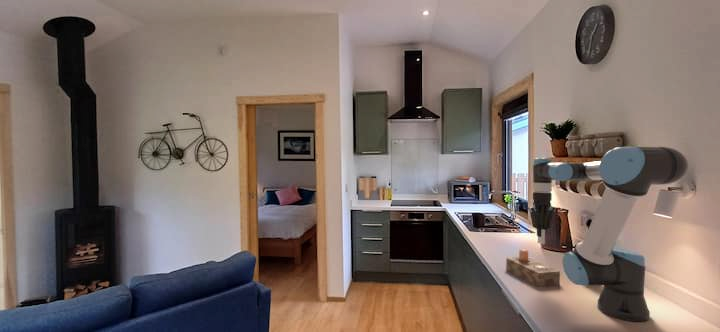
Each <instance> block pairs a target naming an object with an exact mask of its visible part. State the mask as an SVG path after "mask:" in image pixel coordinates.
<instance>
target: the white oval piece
mask: <svg viewBox="0 0 720 332" xmlns="http://www.w3.org/2000/svg"><path fill="white" fill-rule="evenodd" d="M535 268H536V269H538V270H545V267H543V266H535Z"/></svg>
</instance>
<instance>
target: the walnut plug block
mask: <svg viewBox="0 0 720 332" xmlns="http://www.w3.org/2000/svg"><path fill="white" fill-rule="evenodd" d="M505 264H506V266H505V269H506V271H508V272H510V273H511V274H514V275H516V276H518V277H519V278H521V279H523V280H525V281H527V282H529V283H531V284H532V285H535V286H536V287H549V286H559V285H560V282H561V279H560V278H561V274H560V273H561V271H560V270H558V269H555V268H553V267H551V266H549V265H546V264H544V263H541V262H540V261H536V260H534V259H532V258H530V257H528V262H521V261H519V256H517V257H515V256H513V257H506V261H505ZM535 266H543V267H545V270H538V269H536V268H535Z"/></svg>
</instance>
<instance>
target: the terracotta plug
mask: <svg viewBox="0 0 720 332" xmlns="http://www.w3.org/2000/svg"><path fill="white" fill-rule="evenodd" d="M518 252H519V253H518V257H519V261H521V262H528V258H529V250H528V249H522V248H521V249H519V250H518Z"/></svg>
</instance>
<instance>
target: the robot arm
mask: <svg viewBox="0 0 720 332" xmlns="http://www.w3.org/2000/svg"><path fill="white" fill-rule="evenodd" d="M688 170H689V163H688V159H687V157H686V156H685V155H684V154H683V153H682V152H681V151H679V150H677V149H675V148H672V147H667V146H634V145H633V146H632V145H631V146H630V145H627V146H619V147H614V148H612V149H610V150H608V151H607V152H606V153H605V154H604V155H603V156H602V158H601V160H599V161H590V162H553V160H552V158H550V157H542V158H541V157H536V158H534V159H533V165H532V191H533V192H532V200H533V202H532V205H531V206H528V207H527V208H528V209H527V210H528V212H529V214H530V219H531V220H530V221H531V225H532V228H535V230H536V237H537V244H539V245H545V244H546V236H547V230H549V229H550V228H551V227H552V220H553V216H554V212H555V211H556V207H555V206H553V205H552V202H551V201H552V190H553V187H552V186H553V185H552V184H553V181H555V182H566V181H588V182H589V181H590V182H593V181H602V185H603V186H604V187H605V189H604V192H603V194H602V195H601V196H602V197H601V198H600V201H599V204H598V206H597V208H596V210H595V213H594V215H593V217H592V220H591V222H590V225H589V227H588V230H587V232H586V234H585V236H584V238H583V241H579V242H578V243H576V245H575V248H574V249H573V251H567V252H565V253H564V254H563V256H562V262H561V263H562V268H563V271H564V273H565V275H566V277H567V278H568V280H569V281H570V282H571V283H572V284H575V285H578V286H585V287H588V286H603V289H602V290H601V292H600V295H599V297H598V299H597V308H598V309H599V310H600V311H601V312H602V313H604V314H606V315H608V316H611V317H613V318H615V319H619V320H623V321H628V322H636V323H641V322H647V321H649V320H650V318H651V317H650V314H651V313H650V309H649V308H648V305H647V300H646V298H645V278H646V277H645V275H646V265H645V264H646V262H645V261H646V260H645V257H644V255H643V254H641V253H639V252H636V251H633V250H629V249H626V248H622V247H621V248H620V247H616V244H617V242H618V240H619V239H620V236H621V234H622V232H623V229H624V227H625V226H626V224H627V222H628V219H629V218H630V215H631V214H632V210H633V209H634V207H635V205H636V202H637V200H638V198H641V197H646V195H647V193H648V192H649V189H650V188H651V186H652V185H655V186H657V185H669V184H673V183H675V182H678V181H680V180H681V179H683V178H684V177H685V175H686V174H687V173H688Z"/></svg>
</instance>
